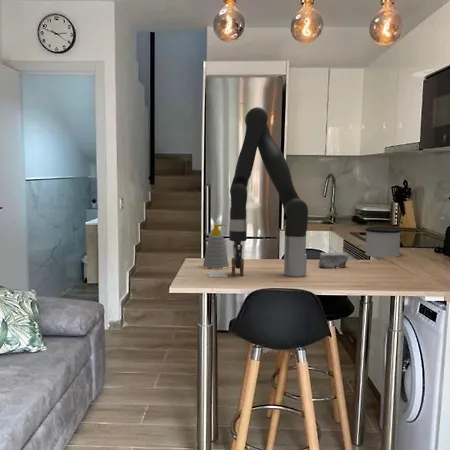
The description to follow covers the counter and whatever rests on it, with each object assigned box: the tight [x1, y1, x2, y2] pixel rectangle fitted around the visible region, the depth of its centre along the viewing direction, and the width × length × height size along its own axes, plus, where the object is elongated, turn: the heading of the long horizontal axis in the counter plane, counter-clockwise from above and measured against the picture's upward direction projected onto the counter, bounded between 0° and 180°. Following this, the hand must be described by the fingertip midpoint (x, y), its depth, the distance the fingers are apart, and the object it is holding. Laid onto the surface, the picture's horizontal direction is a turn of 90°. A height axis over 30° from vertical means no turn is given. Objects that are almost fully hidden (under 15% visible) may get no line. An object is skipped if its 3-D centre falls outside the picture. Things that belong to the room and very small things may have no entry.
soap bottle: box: [202, 223, 230, 269], centre depth 226 cm, size 12×12×20 cm
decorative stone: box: [318, 252, 349, 269], centre depth 229 cm, size 15×7×10 cm
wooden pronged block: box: [231, 257, 245, 277], centre depth 207 cm, size 5×5×7 cm
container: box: [364, 226, 402, 258], centre depth 268 cm, size 19×19×15 cm
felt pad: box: [208, 271, 229, 278], centre depth 207 cm, size 8×11×1 cm
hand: (237, 266), depth 207 cm, fingers open, 8 cm apart
